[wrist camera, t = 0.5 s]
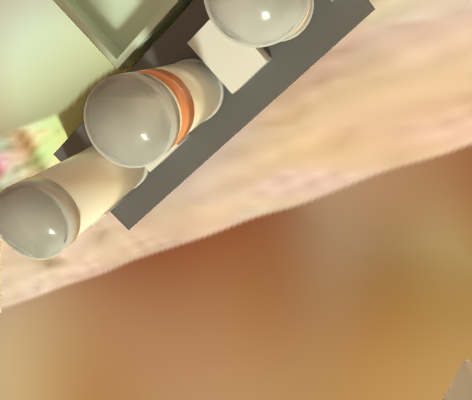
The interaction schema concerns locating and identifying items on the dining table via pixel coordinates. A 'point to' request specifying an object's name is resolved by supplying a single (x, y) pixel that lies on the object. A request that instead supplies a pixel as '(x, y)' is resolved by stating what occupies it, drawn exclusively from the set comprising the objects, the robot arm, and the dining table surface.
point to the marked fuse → (150, 110)
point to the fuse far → (62, 202)
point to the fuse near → (259, 20)
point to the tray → (123, 24)
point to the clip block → (236, 89)
